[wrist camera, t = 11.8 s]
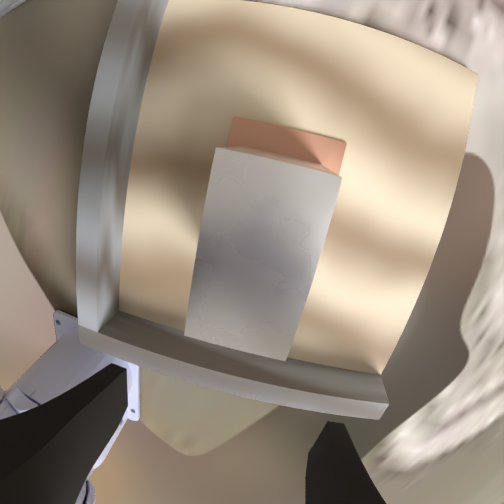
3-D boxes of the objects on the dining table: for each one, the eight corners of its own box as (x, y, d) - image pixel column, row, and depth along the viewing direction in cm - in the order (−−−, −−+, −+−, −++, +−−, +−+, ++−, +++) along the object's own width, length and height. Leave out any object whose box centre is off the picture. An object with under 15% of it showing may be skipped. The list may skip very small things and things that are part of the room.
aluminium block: (322, 164, 16) (342, 177, 10) (289, 286, 18) (285, 361, 12) (246, 146, 16) (215, 147, 10) (221, 269, 19) (183, 335, 12)
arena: (370, 383, 21) (379, 419, 18) (106, 316, 22) (79, 342, 19) (471, 75, 14) (504, 65, 10) (152, 1, 15) (125, -22, 11)
